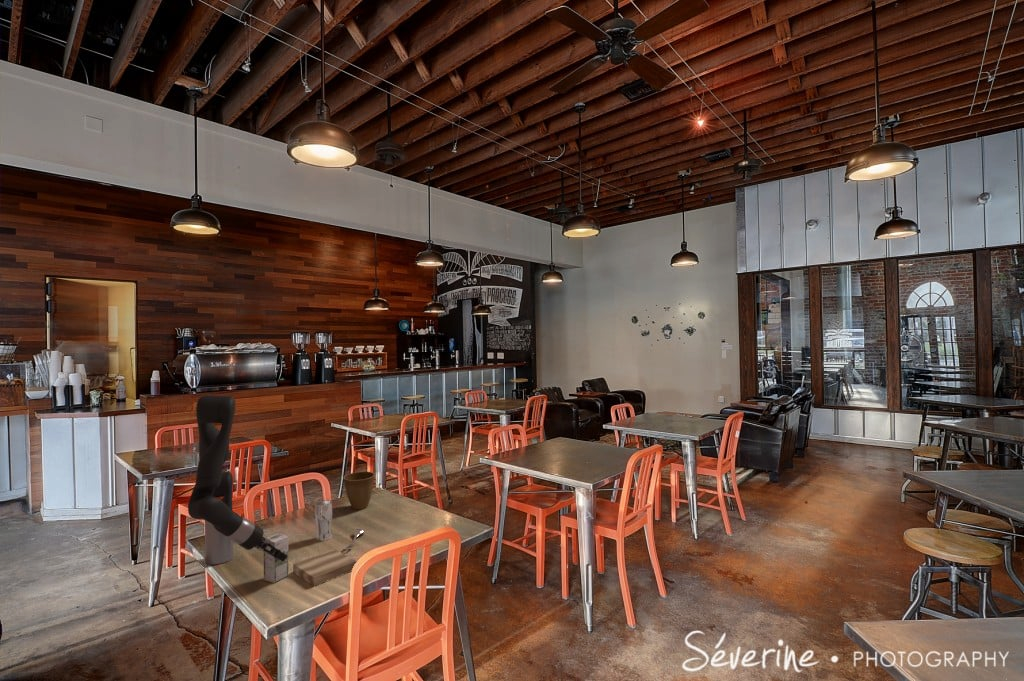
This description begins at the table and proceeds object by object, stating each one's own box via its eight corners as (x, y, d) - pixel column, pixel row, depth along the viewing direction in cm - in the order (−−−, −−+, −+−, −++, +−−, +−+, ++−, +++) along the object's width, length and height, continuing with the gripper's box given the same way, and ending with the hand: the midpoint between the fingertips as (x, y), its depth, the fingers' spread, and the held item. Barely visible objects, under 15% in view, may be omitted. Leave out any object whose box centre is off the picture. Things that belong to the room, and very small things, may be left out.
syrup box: (277, 572, 174) (277, 532, 174) (289, 576, 172) (288, 535, 172) (263, 580, 169) (262, 538, 169) (274, 583, 166) (274, 541, 166)
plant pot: (355, 501, 251) (354, 470, 251) (380, 503, 247) (380, 472, 247) (337, 511, 236) (337, 478, 236) (364, 513, 232) (364, 480, 232)
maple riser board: (293, 571, 175) (293, 563, 175) (334, 556, 187) (334, 548, 187) (314, 586, 164) (314, 577, 164) (356, 569, 176) (356, 561, 176)
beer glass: (327, 542, 201) (326, 506, 200) (311, 541, 202) (311, 505, 202) (335, 535, 207) (335, 500, 207) (321, 534, 209) (320, 499, 209)
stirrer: (351, 543, 190) (339, 543, 190) (351, 552, 190) (339, 552, 190) (366, 526, 210) (355, 526, 210) (366, 535, 210) (355, 535, 210)
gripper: (261, 528, 160) (297, 551, 169) (244, 517, 169) (279, 540, 178) (244, 549, 156) (282, 572, 165) (228, 537, 165) (264, 559, 174)
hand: (280, 555), depth 172 cm, fingers closed on syrup box, 6 cm apart
